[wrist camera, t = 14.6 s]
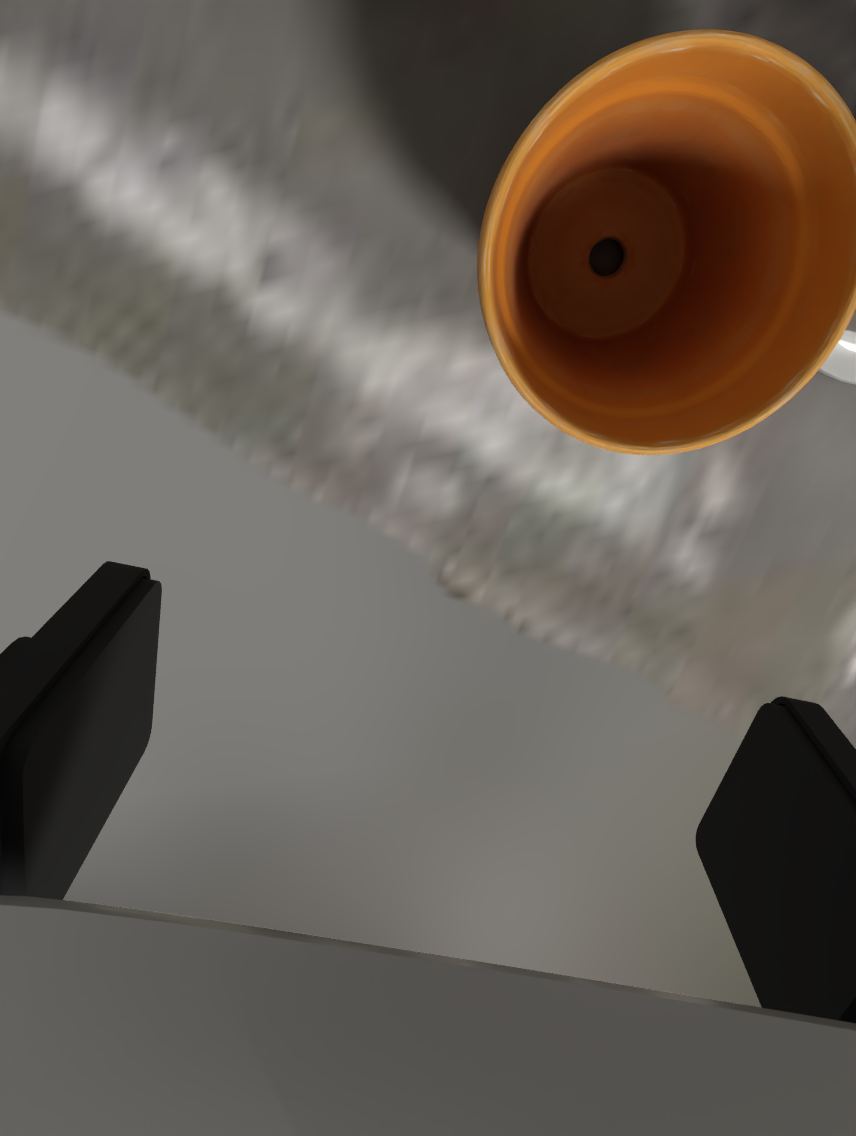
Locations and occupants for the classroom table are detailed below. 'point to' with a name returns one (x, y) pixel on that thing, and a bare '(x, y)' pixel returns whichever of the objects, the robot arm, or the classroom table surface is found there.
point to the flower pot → (674, 242)
